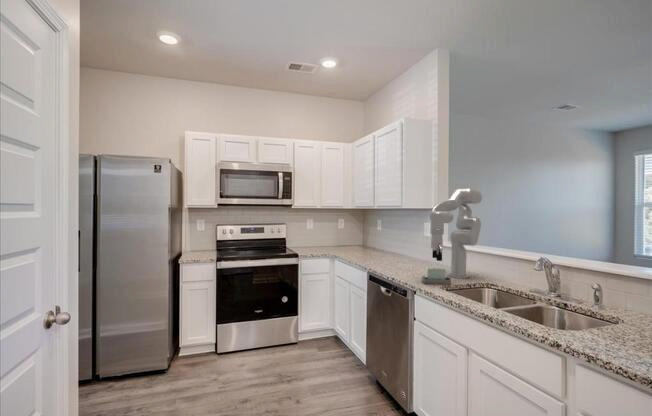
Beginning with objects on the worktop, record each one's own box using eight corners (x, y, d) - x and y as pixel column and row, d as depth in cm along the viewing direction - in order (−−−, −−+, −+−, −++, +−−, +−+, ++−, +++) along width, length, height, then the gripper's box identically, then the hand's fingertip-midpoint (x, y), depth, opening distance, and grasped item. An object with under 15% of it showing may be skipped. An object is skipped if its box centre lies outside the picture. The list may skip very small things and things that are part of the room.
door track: (421, 281, 207) (422, 275, 207) (447, 282, 206) (447, 276, 206) (424, 284, 200) (424, 277, 200) (451, 285, 199) (451, 278, 199)
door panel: (427, 280, 205) (427, 268, 205) (443, 281, 204) (443, 268, 204) (428, 282, 202) (428, 269, 202) (445, 282, 201) (445, 269, 201)
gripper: (427, 230, 211) (427, 256, 212) (434, 233, 194) (434, 261, 195) (439, 230, 211) (439, 256, 211) (447, 233, 194) (447, 262, 194)
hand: (437, 259), depth 203 cm, fingers open, 9 cm apart
